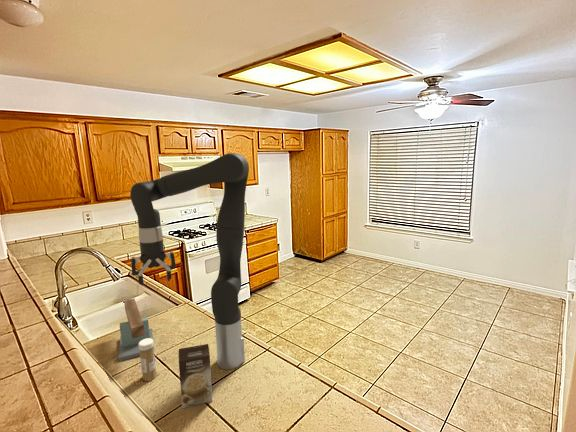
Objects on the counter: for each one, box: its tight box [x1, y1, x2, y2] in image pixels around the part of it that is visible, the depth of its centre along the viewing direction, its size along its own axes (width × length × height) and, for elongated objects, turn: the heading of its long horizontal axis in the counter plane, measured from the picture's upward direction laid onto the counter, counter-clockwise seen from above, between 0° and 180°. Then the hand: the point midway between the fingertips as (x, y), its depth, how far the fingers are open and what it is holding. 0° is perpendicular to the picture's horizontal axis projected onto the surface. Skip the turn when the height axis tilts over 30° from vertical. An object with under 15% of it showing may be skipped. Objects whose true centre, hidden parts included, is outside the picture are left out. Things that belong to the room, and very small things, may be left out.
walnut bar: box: [123, 297, 145, 338], centre depth 118 cm, size 4×26×4 cm, turn 34°
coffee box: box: [178, 343, 213, 409], centre depth 92 cm, size 9×6×16 cm
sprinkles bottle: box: [138, 338, 157, 382], centre depth 101 cm, size 5×5×14 cm
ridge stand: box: [117, 316, 155, 362], centre depth 119 cm, size 12×16×10 cm
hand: (155, 282), depth 107 cm, fingers open, 8 cm apart
